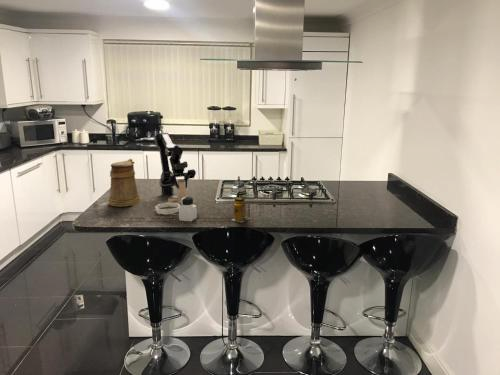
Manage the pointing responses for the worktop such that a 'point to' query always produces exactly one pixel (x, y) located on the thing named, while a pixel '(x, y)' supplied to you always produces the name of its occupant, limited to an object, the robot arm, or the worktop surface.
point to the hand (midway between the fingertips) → (182, 187)
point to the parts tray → (174, 200)
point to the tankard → (123, 184)
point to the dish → (164, 211)
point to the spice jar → (181, 189)
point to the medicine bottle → (187, 210)
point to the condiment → (240, 210)
